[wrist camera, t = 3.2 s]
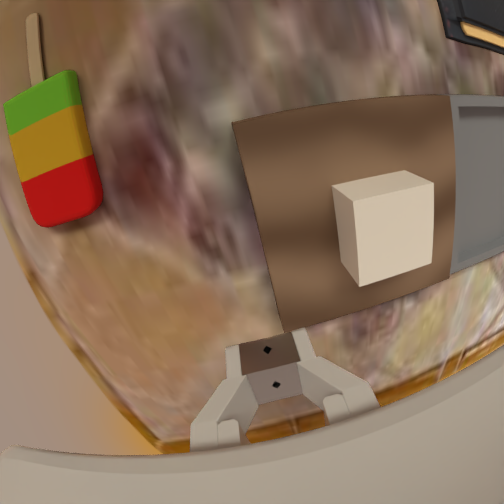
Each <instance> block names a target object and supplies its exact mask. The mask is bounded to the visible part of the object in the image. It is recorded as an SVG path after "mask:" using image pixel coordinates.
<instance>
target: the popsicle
mask: <svg viewBox="0 0 504 504" xmlns="http://www.w3.org/2000/svg"><path fill="white" fill-rule="evenodd" d="M26 41H27V53H28V63H29V72H30V80H31V88H29V89H27V90H26V91H24V92H22V93H20V94H19V95H17V96H15V97H14V98H12V99H10V100H9V101H7V102H6V103H4V104H3V106H4V112H5V118H6V124H7V129H8V134H9V138H10V143H11V147H12V151H13V155H14V159H15V163H16V167H17V171H18V174H19V178H20V181H21V185H22V188H23V191H24V194H25V198H26V201H27V204H28V207H29V210H30V212H31V215H32V217H33V219H34V220H35V222H36V223H37V224H38V225H40V226H42V227H53V226H57V225H60V224H63V223H66V222H69V221H73V220H76V219H79V218H83V217H85V216H87V215H90V214H91V213H93V212H94V211H95V210H96V209H97V208H98V207H99V206H100V205H101V202H102V200H103V189H102V184H101V180H100V177H99V173H98V170H97V166H96V162H95V159H94V155H93V151H92V147H91V143H90V139H89V134H88V130H87V126H86V121H85V116H84V112H83V107H82V102H81V96H80V91H79V85H78V80H77V74H76V72H75V71H71V70H65V71H62V72H60V73H58V74H56V75H54V76H52V77H50V78H48V79H46V80H45V78H44V71H43V63H42V54H41V43H40V30H39V15H38V14H37V13H32V14H30V15H29V16H28V17H27V18H26Z"/></svg>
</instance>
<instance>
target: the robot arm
mask: <svg viewBox="0 0 504 504" xmlns="http://www.w3.org/2000/svg"><path fill="white" fill-rule="evenodd" d="M225 359H226V378H227V379H224V380H222V382H221V383H220V385H219V386H218V387H217V389H216V390H215V392H214V393H213V394H212V396H211V397H210V399H209V400H208V401H207V403H206V404H205V406H204V407H203V408H202V410H201V411H200V413H199V414H198V415H197V417H196V418H195V419H194V421H193V422H192V424H191V432H190V452H189V453H177V454H161V455H94V454H79V453H69V452H59V451H51V450H43V449H37V448H30V447H25V446H20V445H11V446H9V447H8V448H7V449H5V450H4V451H3V452H1V453H0V504H504V345H503V346H501V347H499V348H498V349H496V350H495V351H493V352H492V353H490V354H488V355H487V356H485V357H483V358H482V359H480V360H478V361H477V362H475V363H473V364H471V365H470V366H468V367H466V368H464V369H463V370H461V371H459V372H457V373H455V374H453V375H451V376H450V377H447V378H446V379H444V380H442V381H440V382H438V383H436V384H433V385H431V386H429V387H427V388H425V389H423V390H421V391H419V392H416V393H414V394H412V395H410V396H407V397H405V398H403V399H400V400H398V401H396V402H393V403H391V404H388V405H386V406H383V407H380V405H379V403H378V401H377V399H376V397H375V395H374V393H373V391H372V389H371V387H370V385H369V382H367V381H365V380H363V379H361V378H359V377H358V376H356V375H354V374H352V373H350V372H348V371H346V370H345V369H343V368H341V367H339V366H337V365H336V364H334V363H332V362H330V361H328V360H327V359H325V358H323V357H321V356H318V357H316V355H315V352H314V350H313V347H312V344H311V342H310V339H309V336H308V334H307V331H306V329H305V328H300V329H297V330H294V331H291V332H287V333H283V334H280V335H276V336H272V337H268V338H265V339H260V340H256V341H251V342H246V343H242V344H239V345H233V346H228V347H226V349H225ZM301 394H303V395H304V396H305V397H307V398H308V399H309V400H310V401H312V402H313V403H314V404H315V405H317V406H318V407H319V408H320V409H322V410H323V411H324V418H325V427H321V428H318V429H314V430H311V431H307V432H303V433H299V434H295V435H291V436H287V437H283V438H278V439H274V440H269V441H264V442H259V443H254V444H250V442H249V440H248V438H247V437H246V435H245V434H246V432H247V430H248V428H249V426H250V423H251V421H252V419H253V417H254V415H255V413H256V411H257V409H258V407H259V406H258V405H260V404H264V403H268V402H272V401H276V400H279V399H280V398H281V399H284V398H288V397H292V396H297V395H301Z"/></svg>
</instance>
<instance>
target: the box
mask: <svg viewBox="0 0 504 504" xmlns="http://www.w3.org/2000/svg"><path fill="white" fill-rule="evenodd" d="M435 95H449V96H450V102H451V110H452V119H453V130H454V143H455V165H456V204H455V226H454V240H453V251H452V260H451V269H450V274H452V273H455V272H457V271H459V270H462V269H464V268H467V267H469V266H471V265H474V264H476V263H479V262H481V261H483V260H485V259H488V258H490V257H492V256H494V255H497V254H499V253H501V252H503V251H504V96H493V95H469V94H435Z"/></svg>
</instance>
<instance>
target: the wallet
mask: <svg viewBox="0 0 504 504" xmlns="http://www.w3.org/2000/svg"><path fill="white" fill-rule="evenodd" d="M437 2H438V5H439V9H440V13H441V17H442V21H443V26H444V30H445V35H446V38H449V39H453V40H456V41H459V42H462V43H465V44H470V45H474V46H478V47H482V48H486V49H489V50H492V51H495V52H498V53H500V54H503V55H504V0H437Z"/></svg>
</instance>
